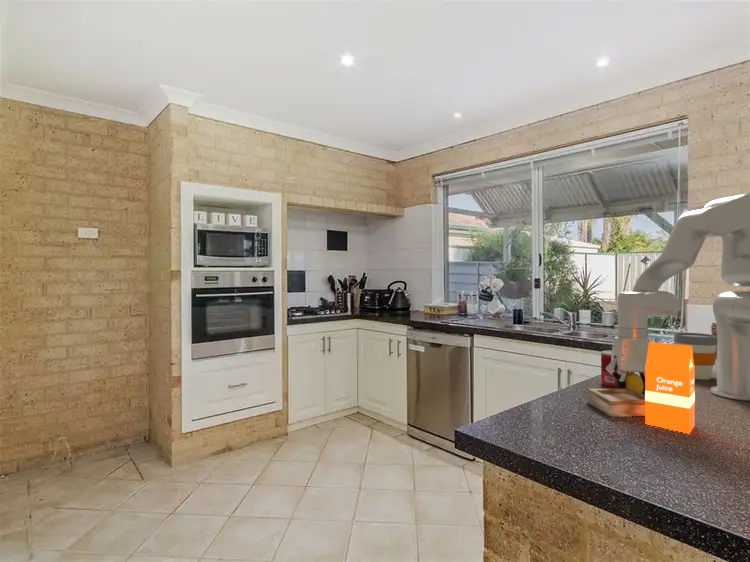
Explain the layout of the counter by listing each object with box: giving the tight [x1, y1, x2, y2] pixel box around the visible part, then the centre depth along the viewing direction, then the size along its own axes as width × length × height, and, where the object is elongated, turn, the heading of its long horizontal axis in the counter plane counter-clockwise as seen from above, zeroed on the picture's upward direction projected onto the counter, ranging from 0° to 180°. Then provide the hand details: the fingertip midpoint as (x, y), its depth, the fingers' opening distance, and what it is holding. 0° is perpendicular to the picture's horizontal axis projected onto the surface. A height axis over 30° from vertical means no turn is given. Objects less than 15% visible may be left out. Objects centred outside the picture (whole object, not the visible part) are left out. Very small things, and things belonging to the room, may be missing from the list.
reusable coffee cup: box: [673, 332, 717, 381], centre depth 149 cm, size 12×13×15 cm
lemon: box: [624, 372, 643, 393], centre depth 124 cm, size 6×6×8 cm
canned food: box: [600, 350, 630, 388], centre depth 138 cm, size 8×8×11 cm
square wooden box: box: [587, 388, 645, 417], centre depth 114 cm, size 12×12×4 cm
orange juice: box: [644, 341, 696, 435], centre depth 101 cm, size 8×9×20 cm
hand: (632, 393), depth 124 cm, fingers closed on lemon, 5 cm apart
